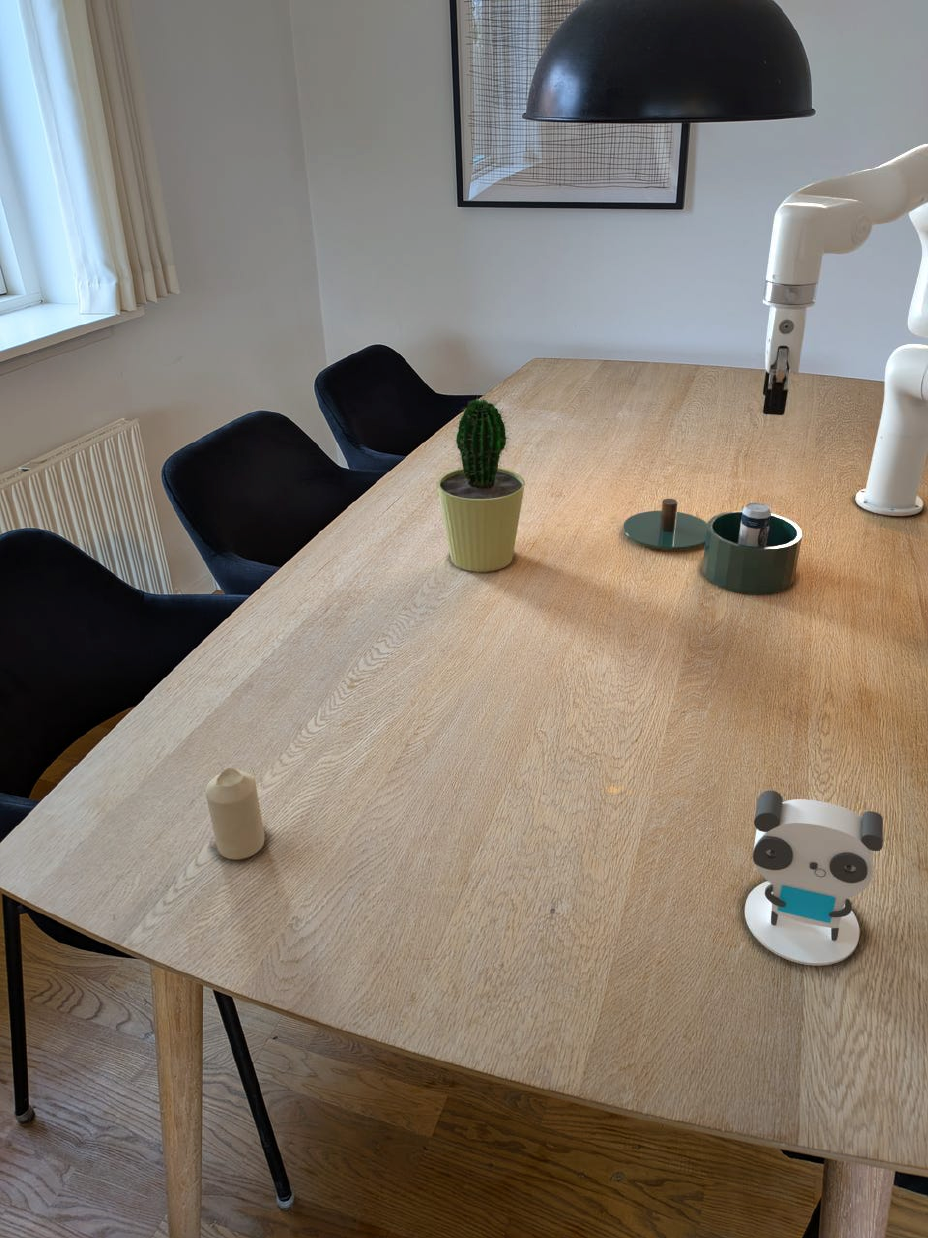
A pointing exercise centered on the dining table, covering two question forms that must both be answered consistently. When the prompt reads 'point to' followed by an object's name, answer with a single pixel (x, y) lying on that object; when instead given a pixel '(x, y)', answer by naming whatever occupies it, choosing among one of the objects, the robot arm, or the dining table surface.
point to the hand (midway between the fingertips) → (773, 404)
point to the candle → (235, 814)
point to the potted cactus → (481, 494)
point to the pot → (751, 555)
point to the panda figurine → (810, 877)
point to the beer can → (755, 525)
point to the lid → (666, 528)
